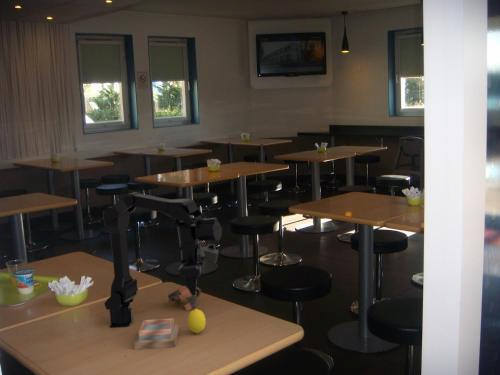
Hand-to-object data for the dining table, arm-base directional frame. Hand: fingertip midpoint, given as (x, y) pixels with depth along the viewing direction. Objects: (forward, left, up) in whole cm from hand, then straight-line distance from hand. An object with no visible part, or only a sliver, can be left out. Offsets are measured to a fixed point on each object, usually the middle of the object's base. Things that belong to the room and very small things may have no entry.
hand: (195, 290), depth 176 cm
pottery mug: (-6, +25, -14) cm, 29 cm away
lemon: (0, 0, -14) cm, 14 cm away
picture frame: (-12, -3, -14) cm, 19 cm away
